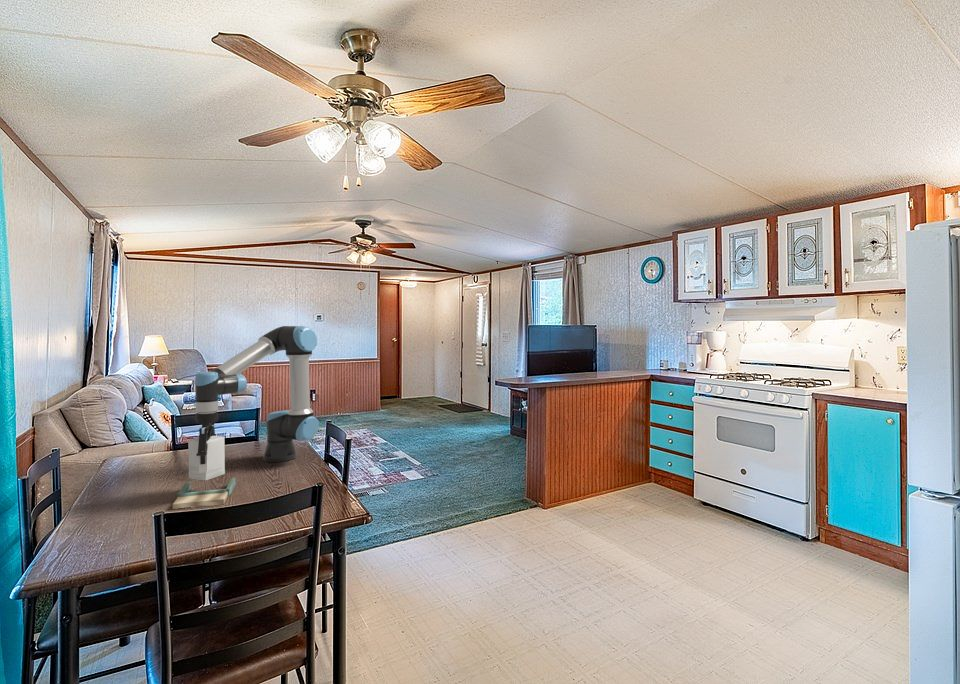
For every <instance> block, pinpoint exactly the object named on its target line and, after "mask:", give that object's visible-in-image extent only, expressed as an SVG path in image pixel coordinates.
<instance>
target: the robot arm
mask: <svg viewBox="0 0 960 684" xmlns="http://www.w3.org/2000/svg"><path fill="white" fill-rule="evenodd" d="M317 344H318V337H317V335H316V332H315V331H314V330H313V329H312V328H311V327H309V326H303V325H296V326H295V325H283V326H278V327H277V328H275V329H272V330H270V331H268V332H267V333H265V334H264V335H262V336H260V337H259V338H258V341H257V342H255V343H253V344H252V345H249V346H248V347H247V348H245V349H243V350H242V351H241V352H238V354H235V355H234V356H232V357H231V358H229V359H228V360H226V361H225V362H223V363H221V364H220V365H218V366H217V367H215V368H214V369H211V370H210V371H200V372H198V373H196V374H195V378H194V387H195V389H194V391H195V397H194V398H195V403H194V404H193V407H195V412H196V413H195V423H196V424H201V427H200V428H199V429H198V431H199V432H198V437H199V444H198V453H197V454H196V456H199V473H204V472H208V455H207V449H208V443H207V441H208V440H209V439H210V438H211V436H216V430H215V423H217V422H218V421H219V412H218V411H219V396H222V395H231V394H238V393H243V392H245V390H246V389H247V387H248V380H247V377H245V375H244V374H241V373H243V372H245V370H247V369H249V368H250V367H252V366H253V365H255V364H256V363H258V362H259V361H261V360H262V359H264V358H265V357H267V356H270V355H274V354H276V353H277V352H280V351H285V356H286V357H287V358H288V359H289V360H288V361H289V392H290V394H289V395H290V409H285V410H277V411H273V412H270V413H268V414H267V415H266V446H265V450H264V453H263V455H262V457H263V461H264V462H267V463H284V462H288V461H292V460H295V459H296V458H297V457H298V452H297V449H296V446H295V443H294V440H296V441H298V442H308V441H310V440H312V439H314V437H315V436H316V435H317V434H318V432H319V427H320V422H319V419H317V417H315V416H314V410H313V409H312V408H311V400H310V399H311V398H310V397H311V396H310V395H311V394H310V393H311V391H310V357H311V356H312V355H313V351H314V350H315V349H316V347H317ZM202 451H204V452H202Z"/></svg>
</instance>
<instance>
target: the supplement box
mask: <svg viewBox="0 0 960 684" xmlns="http://www.w3.org/2000/svg"><path fill="white" fill-rule="evenodd" d="M187 442H188V445H187V446H188V448H187V450H188V478H189V479H192V480H200V481H208V480H211V479H215V478H217V477H220V476H222V475H225V474H226V469H225V468H226V467H225V466H226V464H225V463H226V461H225V454H226V453H225V450H226V449H225V436H221V435H220V436H219V435H215V436H211V438H210V439H209V440H208V441H207V443H208V449H207V455H208V472H204V473H199V456H196V454H197V453H198V444H199V436H198V437H195V438H190V439H188V440H187ZM202 452H204V451H202Z"/></svg>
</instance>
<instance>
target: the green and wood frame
mask: <svg viewBox="0 0 960 684" xmlns="http://www.w3.org/2000/svg"><path fill="white" fill-rule="evenodd" d="M236 479H237V478H236V476H235V477H233V476H232V477H231V479H230V481H229V483H228V484H227V486H226V488H223V489H222V488H221V489H212V490H200V491H190V490H191V486H192V485H191V484H192V481H191V480H190V481H186V483H184V485H183V486H181V489H179V491H178V492H177V493H176V499H175V501H174V502H173V503H172V510H173V509H175V510H179V509H178V508H184V507H191V508H190V509H193V508H205V507H211V506H221V505H225V502H226V501H227V499H228V497H231V495H232V493H233V490H234V489H235V487H236V484H237V483H236Z"/></svg>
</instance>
